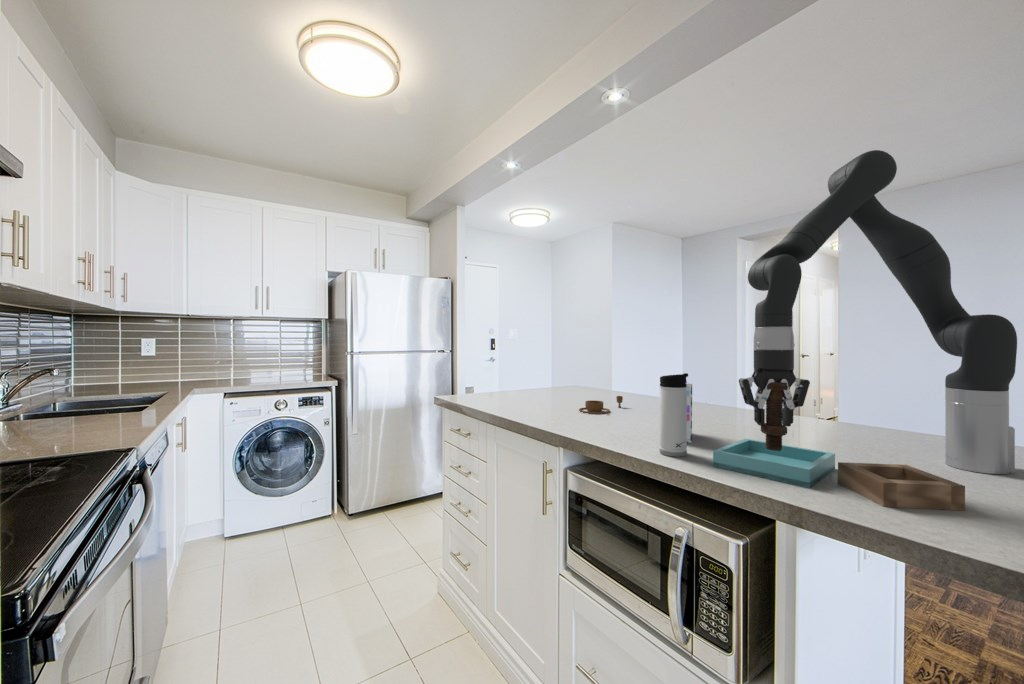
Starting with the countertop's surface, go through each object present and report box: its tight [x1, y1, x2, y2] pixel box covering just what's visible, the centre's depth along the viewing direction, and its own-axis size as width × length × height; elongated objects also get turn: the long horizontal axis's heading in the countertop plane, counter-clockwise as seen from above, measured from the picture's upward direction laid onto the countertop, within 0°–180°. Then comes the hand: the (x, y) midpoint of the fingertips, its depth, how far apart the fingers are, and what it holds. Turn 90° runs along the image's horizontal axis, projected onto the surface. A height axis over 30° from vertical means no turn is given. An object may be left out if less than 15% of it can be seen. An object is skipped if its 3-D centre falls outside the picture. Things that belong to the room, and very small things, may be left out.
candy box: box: [686, 382, 693, 444], centre depth 120 cm, size 14×6×16 cm, turn 170°
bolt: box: [760, 382, 791, 451], centre depth 91 cm, size 6×5×15 cm
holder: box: [837, 461, 966, 511], centre depth 75 cm, size 12×12×4 cm
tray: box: [712, 438, 836, 489], centre depth 91 cm, size 18×18×4 cm
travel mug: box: [659, 372, 689, 458], centre depth 103 cm, size 6×7×20 cm
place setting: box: [578, 395, 624, 416], centre depth 164 cm, size 18×20×6 cm
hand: (773, 425), depth 91 cm, fingers closed on bolt, 4 cm apart
